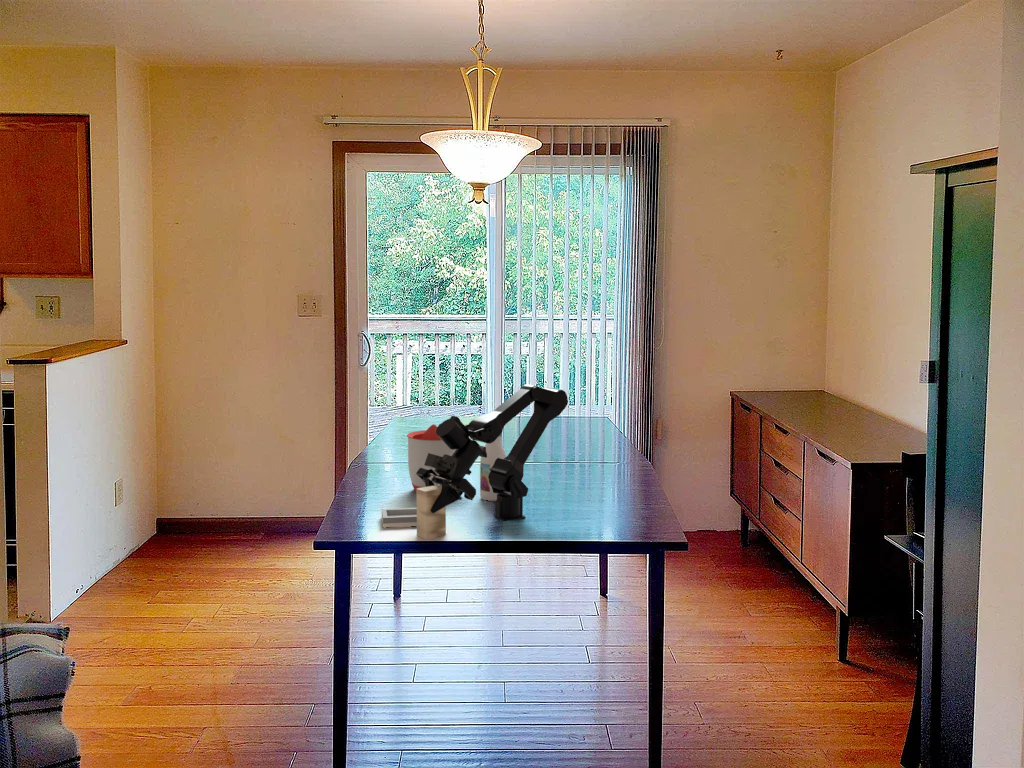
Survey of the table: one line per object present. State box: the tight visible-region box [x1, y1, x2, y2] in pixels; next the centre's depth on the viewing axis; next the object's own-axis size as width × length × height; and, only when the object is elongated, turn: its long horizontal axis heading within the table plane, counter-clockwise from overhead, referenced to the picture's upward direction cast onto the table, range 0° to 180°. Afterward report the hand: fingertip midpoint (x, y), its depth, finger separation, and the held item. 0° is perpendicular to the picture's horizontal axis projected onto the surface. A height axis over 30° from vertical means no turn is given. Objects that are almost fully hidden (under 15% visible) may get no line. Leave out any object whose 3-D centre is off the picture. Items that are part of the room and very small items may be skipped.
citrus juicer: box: [406, 423, 456, 492], centre depth 281 cm, size 16×17×20 cm
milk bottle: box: [479, 432, 507, 502], centre depth 272 cm, size 8×8×20 cm
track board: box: [381, 507, 417, 529], centre depth 249 cm, size 16×10×2 cm, turn 100°
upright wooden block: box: [415, 485, 447, 540], centre depth 236 cm, size 6×4×12 cm, turn 131°
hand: (426, 510), depth 235 cm, fingers closed on upright wooden block, 4 cm apart
